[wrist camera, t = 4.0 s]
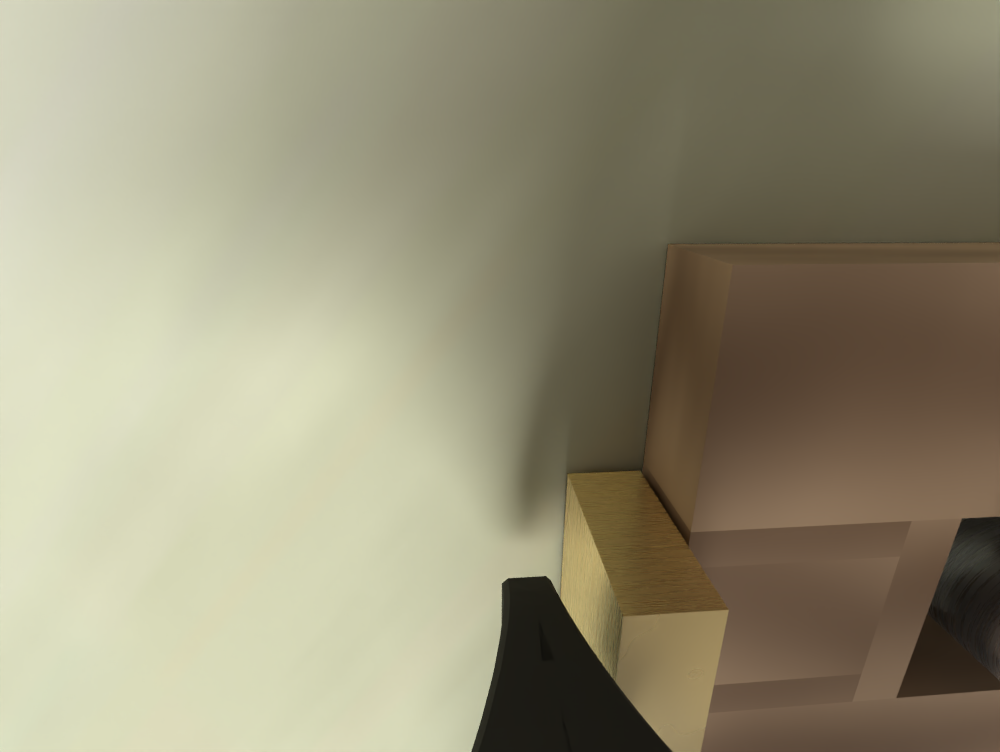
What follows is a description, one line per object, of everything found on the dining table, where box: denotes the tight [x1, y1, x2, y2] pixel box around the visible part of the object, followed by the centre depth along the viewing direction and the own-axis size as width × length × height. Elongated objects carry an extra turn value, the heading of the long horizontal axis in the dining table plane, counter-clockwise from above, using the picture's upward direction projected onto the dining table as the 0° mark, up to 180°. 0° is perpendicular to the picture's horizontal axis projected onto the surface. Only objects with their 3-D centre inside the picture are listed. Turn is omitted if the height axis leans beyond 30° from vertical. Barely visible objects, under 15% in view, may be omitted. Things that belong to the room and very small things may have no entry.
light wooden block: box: [560, 471, 729, 752], centre depth 11 cm, size 4×6×4 cm
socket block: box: [642, 242, 1000, 752], centre depth 12 cm, size 14×12×2 cm
